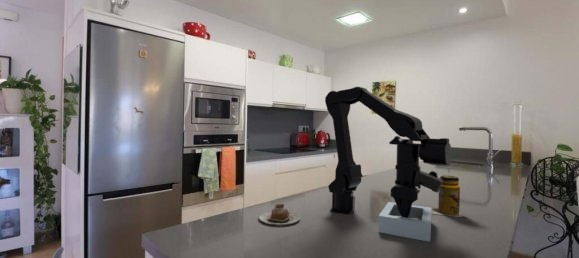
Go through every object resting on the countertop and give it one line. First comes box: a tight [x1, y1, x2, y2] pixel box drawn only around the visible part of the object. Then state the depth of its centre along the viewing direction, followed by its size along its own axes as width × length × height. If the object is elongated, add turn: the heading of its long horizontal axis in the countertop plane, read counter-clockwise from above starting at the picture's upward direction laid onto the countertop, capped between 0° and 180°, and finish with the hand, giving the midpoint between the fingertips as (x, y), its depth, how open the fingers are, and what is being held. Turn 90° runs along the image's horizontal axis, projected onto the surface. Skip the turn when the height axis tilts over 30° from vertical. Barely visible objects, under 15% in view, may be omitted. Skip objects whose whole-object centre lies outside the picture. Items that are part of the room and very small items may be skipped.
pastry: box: [258, 203, 301, 227], centre depth 81 cm, size 12×12×5 cm
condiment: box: [429, 175, 464, 218], centre depth 91 cm, size 7×8×12 cm
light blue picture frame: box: [378, 201, 432, 243], centre depth 76 cm, size 12×16×4 cm
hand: (406, 218), depth 76 cm, fingers open, 5 cm apart
